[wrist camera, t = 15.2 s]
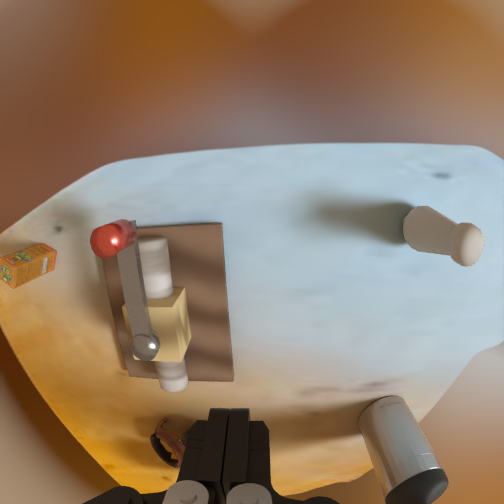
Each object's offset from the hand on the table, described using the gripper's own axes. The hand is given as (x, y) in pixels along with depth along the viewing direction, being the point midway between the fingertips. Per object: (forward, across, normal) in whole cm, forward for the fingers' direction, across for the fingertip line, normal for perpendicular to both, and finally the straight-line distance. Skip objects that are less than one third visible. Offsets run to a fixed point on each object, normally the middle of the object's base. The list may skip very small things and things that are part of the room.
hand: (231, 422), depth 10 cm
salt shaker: (+27, -22, -3) cm, 35 cm away
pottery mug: (+27, +12, +31) cm, 43 cm away
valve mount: (+27, +11, +7) cm, 30 cm away
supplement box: (+27, +30, -1) cm, 41 cm away
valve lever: (+18, +11, +1) cm, 21 cm away
